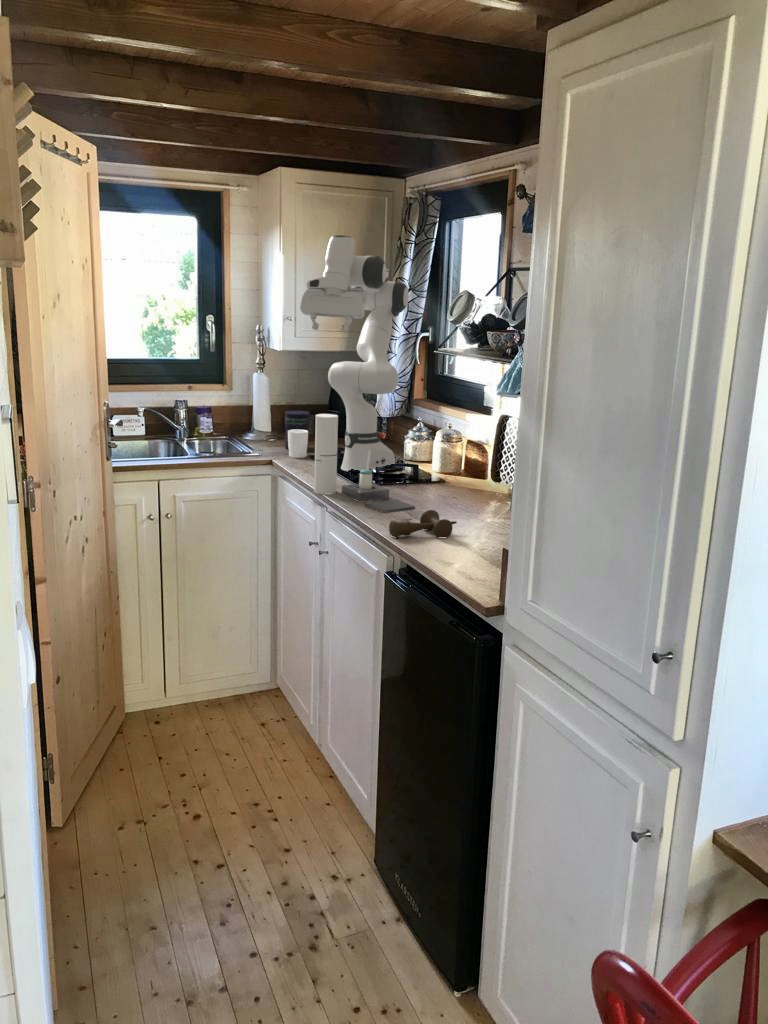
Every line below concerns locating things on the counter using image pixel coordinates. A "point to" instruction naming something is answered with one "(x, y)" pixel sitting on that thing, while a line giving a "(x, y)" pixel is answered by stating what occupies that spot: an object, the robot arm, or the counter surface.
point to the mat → (390, 505)
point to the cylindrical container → (326, 453)
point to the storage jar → (296, 423)
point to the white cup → (297, 443)
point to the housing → (365, 492)
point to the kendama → (423, 525)
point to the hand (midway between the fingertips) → (329, 330)
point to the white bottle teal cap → (365, 479)
